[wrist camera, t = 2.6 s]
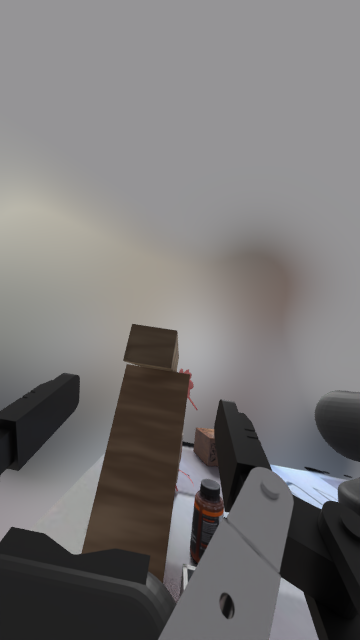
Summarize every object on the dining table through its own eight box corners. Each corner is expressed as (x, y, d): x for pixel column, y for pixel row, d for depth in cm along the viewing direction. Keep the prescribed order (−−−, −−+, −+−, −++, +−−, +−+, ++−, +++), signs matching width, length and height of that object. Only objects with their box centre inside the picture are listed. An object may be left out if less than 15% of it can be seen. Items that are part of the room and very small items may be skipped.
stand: (151, 707, 18) (193, 374, 28) (50, 682, 18) (126, 364, 28) (163, 567, 31) (188, 376, 41) (104, 554, 32) (143, 368, 41)
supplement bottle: (227, 567, 33) (231, 491, 36) (199, 575, 31) (206, 493, 34) (209, 539, 38) (214, 475, 42) (184, 544, 36) (191, 476, 40)
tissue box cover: (207, 466, 72) (209, 438, 75) (193, 451, 85) (196, 427, 88) (260, 468, 78) (260, 441, 82) (239, 453, 92) (240, 431, 95)
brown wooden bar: (171, 368, 18) (177, 330, 19) (123, 360, 18) (132, 324, 20) (176, 374, 43) (178, 357, 44) (155, 370, 43) (158, 354, 44)
